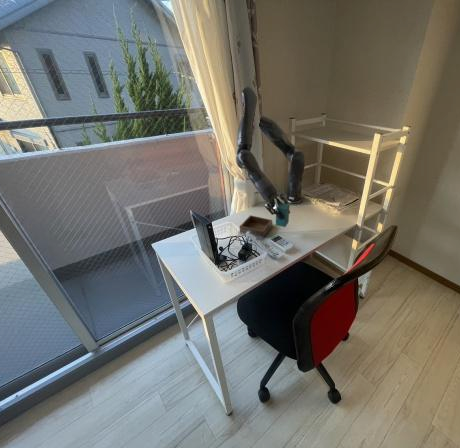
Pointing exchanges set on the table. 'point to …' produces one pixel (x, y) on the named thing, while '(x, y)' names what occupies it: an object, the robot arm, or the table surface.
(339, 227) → the table surface
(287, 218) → the block
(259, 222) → the box
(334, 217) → the table surface
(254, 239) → the caliper
